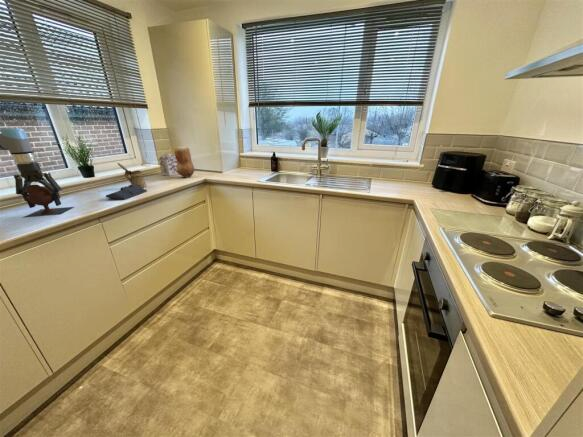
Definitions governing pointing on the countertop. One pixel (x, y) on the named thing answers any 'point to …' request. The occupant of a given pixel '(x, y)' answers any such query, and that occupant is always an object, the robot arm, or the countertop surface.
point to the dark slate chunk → (127, 192)
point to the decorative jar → (168, 164)
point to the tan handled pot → (134, 177)
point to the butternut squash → (184, 161)
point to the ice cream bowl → (40, 197)
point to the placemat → (57, 212)
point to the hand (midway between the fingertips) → (46, 206)
